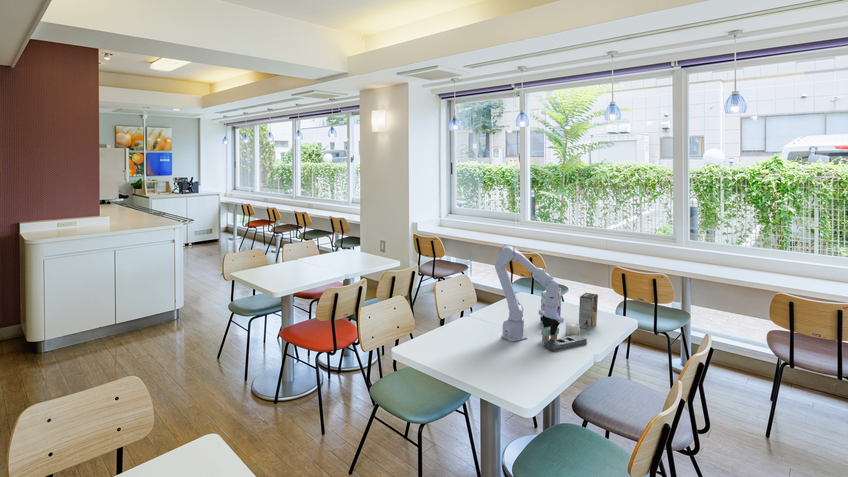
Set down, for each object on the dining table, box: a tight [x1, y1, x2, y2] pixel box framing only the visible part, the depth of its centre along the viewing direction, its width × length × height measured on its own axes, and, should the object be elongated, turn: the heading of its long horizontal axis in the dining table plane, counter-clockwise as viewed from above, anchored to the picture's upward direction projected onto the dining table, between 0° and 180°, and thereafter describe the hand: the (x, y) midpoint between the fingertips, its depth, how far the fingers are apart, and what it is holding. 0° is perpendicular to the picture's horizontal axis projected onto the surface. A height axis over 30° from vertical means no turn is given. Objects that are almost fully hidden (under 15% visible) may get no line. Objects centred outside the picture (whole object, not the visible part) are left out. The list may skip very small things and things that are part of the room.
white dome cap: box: [564, 322, 581, 337], centre depth 223 cm, size 6×6×5 cm
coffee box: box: [578, 292, 599, 330], centre depth 234 cm, size 9×6×16 cm
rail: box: [543, 334, 588, 353], centre depth 209 cm, size 20×6×2 cm, turn 116°
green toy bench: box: [540, 326, 560, 342], centre depth 215 cm, size 8×3×6 cm, turn 116°
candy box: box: [539, 287, 562, 323], centre depth 243 cm, size 14×6×16 cm, turn 143°
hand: (549, 333), depth 215 cm, fingers open, 3 cm apart
